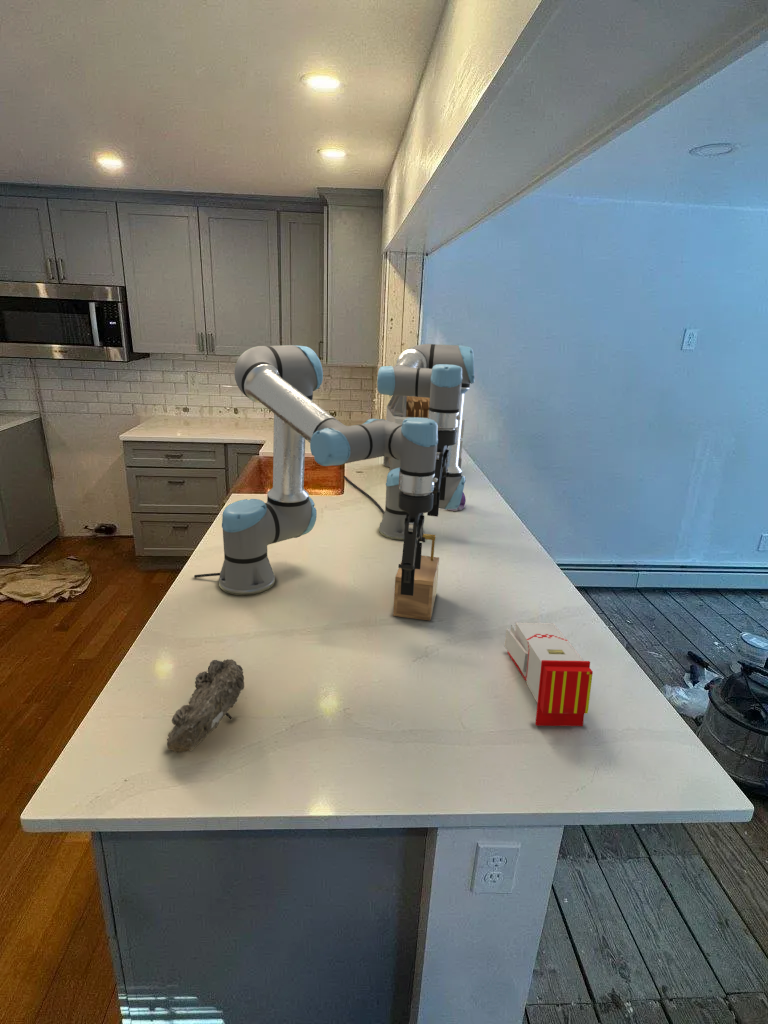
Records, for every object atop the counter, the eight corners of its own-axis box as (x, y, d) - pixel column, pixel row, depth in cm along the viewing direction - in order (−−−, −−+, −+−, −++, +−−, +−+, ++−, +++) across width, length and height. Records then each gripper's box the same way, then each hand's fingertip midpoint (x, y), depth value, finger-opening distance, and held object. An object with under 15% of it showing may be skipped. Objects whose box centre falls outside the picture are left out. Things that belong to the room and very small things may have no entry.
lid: (404, 557, 157) (405, 528, 154) (438, 561, 156) (441, 532, 153) (395, 581, 143) (396, 550, 140) (433, 585, 142) (435, 554, 139)
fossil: (192, 660, 117) (244, 628, 112) (224, 691, 120) (276, 661, 115) (142, 746, 98) (202, 712, 93) (182, 779, 101) (242, 748, 96)
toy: (550, 607, 134) (601, 667, 105) (545, 659, 137) (594, 732, 108) (499, 606, 134) (537, 666, 104) (495, 659, 137) (530, 731, 107)
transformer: (382, 463, 289) (386, 382, 275) (445, 464, 293) (451, 384, 279) (390, 482, 257) (394, 392, 243) (460, 483, 261) (468, 394, 247)
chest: (401, 590, 160) (403, 558, 157) (436, 594, 158) (438, 562, 155) (393, 615, 147) (395, 581, 143) (430, 620, 145) (433, 586, 142)
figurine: (452, 513, 222) (455, 476, 217) (438, 505, 231) (441, 469, 226) (471, 510, 227) (475, 474, 221) (457, 502, 235) (460, 467, 230)
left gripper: (427, 511, 109) (421, 609, 116) (438, 477, 132) (432, 560, 140) (389, 508, 110) (385, 604, 117) (406, 474, 134) (402, 557, 141)
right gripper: (452, 439, 131) (444, 524, 138) (461, 420, 154) (455, 495, 161) (420, 436, 132) (414, 521, 139) (434, 418, 155) (429, 492, 162)
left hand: (410, 580), depth 129 cm, fingers open, 13 cm apart
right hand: (436, 507), depth 150 cm, fingers open, 13 cm apart
